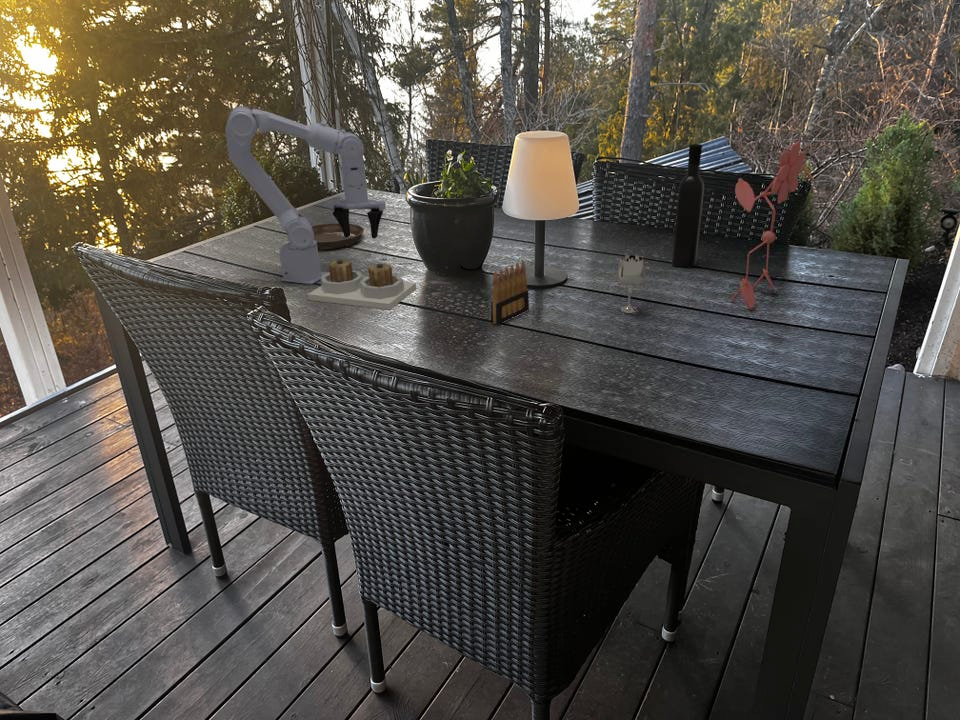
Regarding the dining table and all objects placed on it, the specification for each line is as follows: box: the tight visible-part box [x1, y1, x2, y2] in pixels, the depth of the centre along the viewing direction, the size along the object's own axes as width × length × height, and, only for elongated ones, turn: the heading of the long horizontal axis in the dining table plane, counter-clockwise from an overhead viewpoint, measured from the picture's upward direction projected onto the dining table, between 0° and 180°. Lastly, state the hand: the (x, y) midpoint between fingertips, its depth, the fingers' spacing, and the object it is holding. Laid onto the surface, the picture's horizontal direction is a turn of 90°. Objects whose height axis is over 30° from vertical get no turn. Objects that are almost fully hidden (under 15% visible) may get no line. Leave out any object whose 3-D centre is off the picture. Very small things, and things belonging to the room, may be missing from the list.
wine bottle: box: [671, 143, 705, 268], centre depth 173 cm, size 6×6×30 cm
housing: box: [307, 269, 417, 311], centre depth 168 cm, size 22×14×4 cm, turn 69°
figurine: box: [730, 139, 816, 310], centre depth 146 cm, size 15×26×35 cm, turn 133°
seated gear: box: [368, 263, 393, 287], centre depth 165 cm, size 5×5×7 cm
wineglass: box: [616, 254, 646, 313], centre depth 151 cm, size 6×6×12 cm
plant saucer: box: [312, 222, 365, 250], centre depth 209 cm, size 21×21×3 cm
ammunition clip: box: [490, 260, 530, 326], centre depth 151 cm, size 11×2×12 cm, turn 136°
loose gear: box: [328, 259, 353, 283], centre depth 169 cm, size 5×5×7 cm
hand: (361, 236), depth 180 cm, fingers open, 7 cm apart
